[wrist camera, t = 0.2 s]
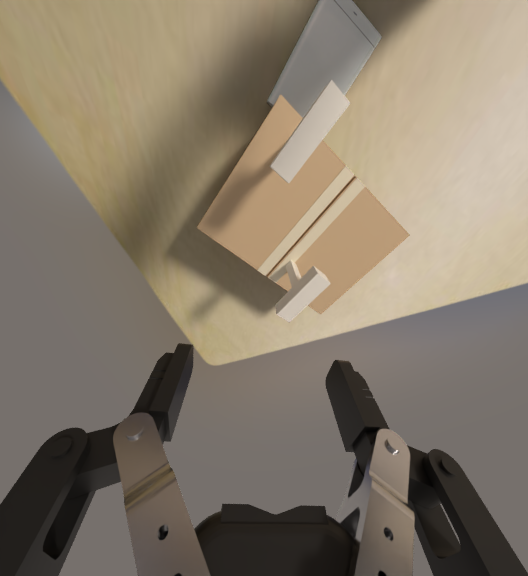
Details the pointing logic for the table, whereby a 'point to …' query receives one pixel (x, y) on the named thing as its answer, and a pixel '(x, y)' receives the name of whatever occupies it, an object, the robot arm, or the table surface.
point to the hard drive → (326, 54)
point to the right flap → (336, 251)
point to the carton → (279, 182)
